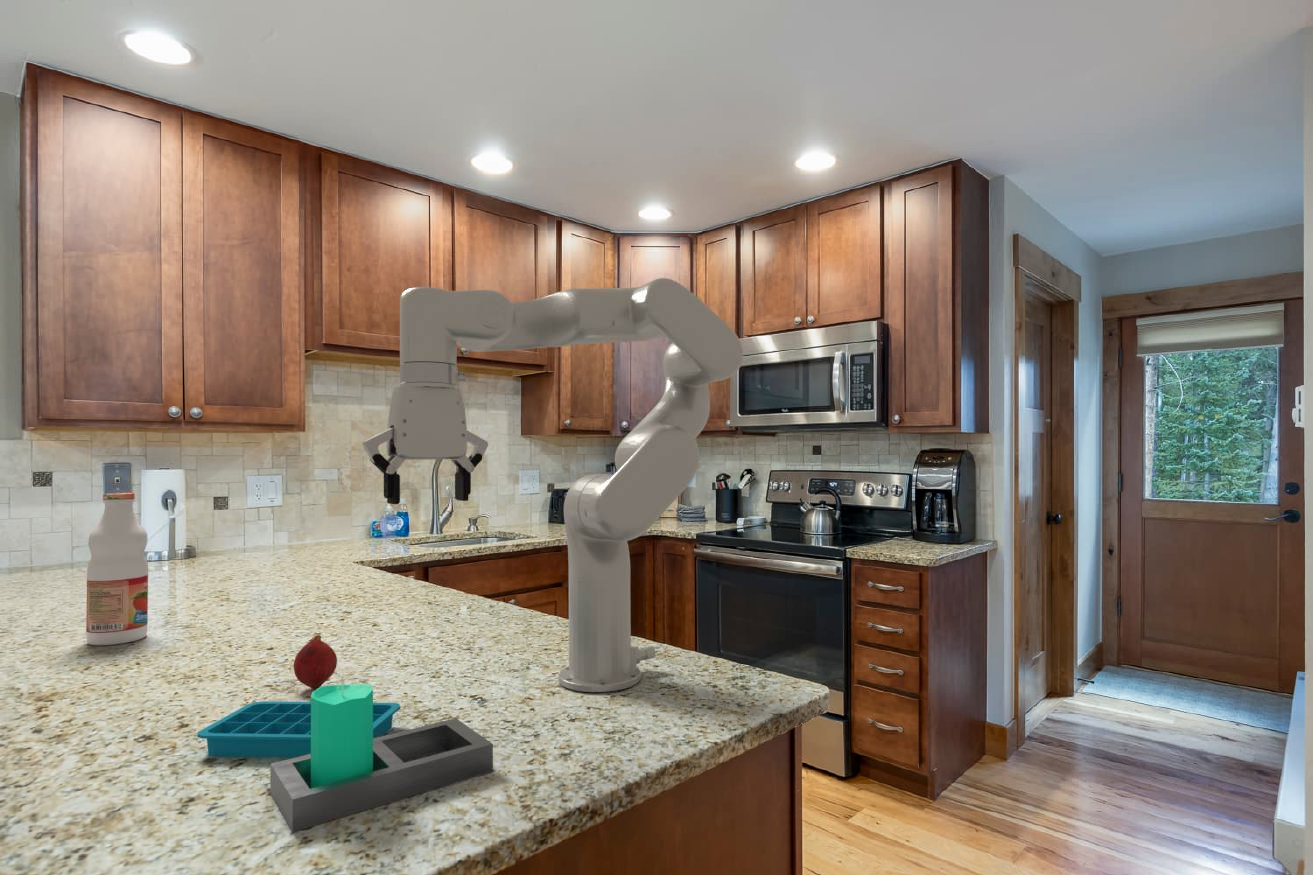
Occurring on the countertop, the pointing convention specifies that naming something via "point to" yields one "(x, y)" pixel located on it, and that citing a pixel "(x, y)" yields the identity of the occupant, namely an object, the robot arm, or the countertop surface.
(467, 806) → the countertop surface
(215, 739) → the ice cube tray
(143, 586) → the fruit juice
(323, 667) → the onion
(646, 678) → the countertop surface
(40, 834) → the countertop surface
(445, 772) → the hollow block
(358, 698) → the candle
